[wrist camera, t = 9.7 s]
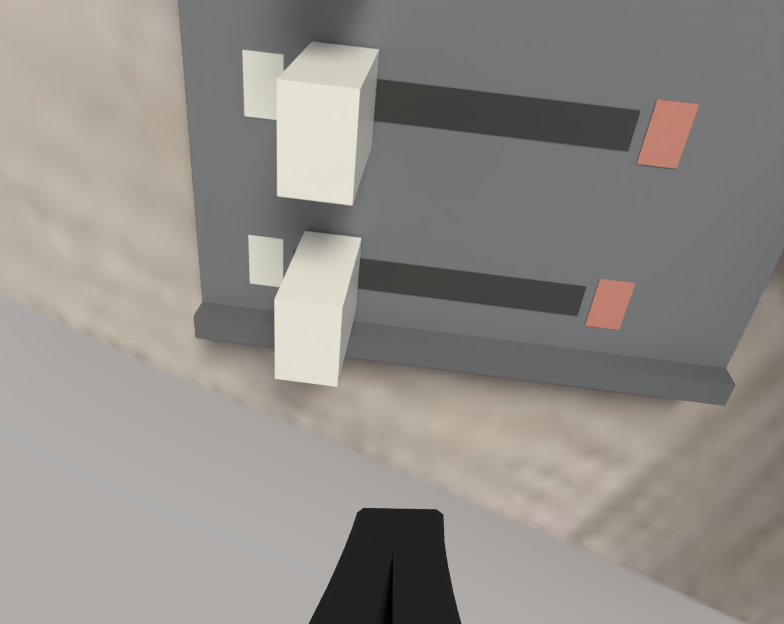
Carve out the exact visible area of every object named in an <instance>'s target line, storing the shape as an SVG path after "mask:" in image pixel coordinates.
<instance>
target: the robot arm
mask: <svg viewBox="0 0 784 624" xmlns="http://www.w3.org/2000/svg"><path fill="white" fill-rule="evenodd" d="M443 519H444V518H443V514H442V513H441V512H439V511H438V510H436V509H389V508H363V509H362V510H360V511H359V512H358V513H357V515H356V518H355V521H354V524H353V527H352V530H351V532H350V535H349V538H348V540H347V543H346V545H345V548H344V550H343V553H342V555H341V557H340V560H339V562H338V564H337V566H336V569H335V571H334V573H333V575H332V577H331V580H330V582H329V584H328V587H327V588H326V591H325V592H324V594H323V596H322V598H321V600H320V602H319V604H318V606H317V608H316V611H315V612H314V615H313V616H312V618H311V620H310V622H309V624H461V621H460V617H459V613H458V610H457V605H456V602H455V597H454V593H453V588H452V583H451V578H450V573H449V569H448V563H447V557H446V550H445V542H444V520H443Z"/></svg>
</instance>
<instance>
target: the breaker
mask: <svg viewBox="0 0 784 624" xmlns="http://www.w3.org/2000/svg"><path fill="white" fill-rule="evenodd" d="M378 60H379V49H372V48H364V47H356V46H347V45H339V44H330V43H322V42H314V41H312V42H311V43H310V44H309V45H308V46H307V47H306V48H305V49H304V50H303V52H302V53H301V54H300V55H299V56H298V57H297V58H296V59H295V60H294V61H293V62H292V63H291V64H290V65H289V66H288V67H287V69H286V70H285V71H284V72H283V73H282V74H281V75H280V76H279V77H278V78H277V196H279V197H287V198H295V199H303V200H311V201H319V202H328V203H336V204H344V205H353V202H354V199H355V196H356V193H357V190H358V187H359V184H360V181H361V178H362V175H363V172H364V169H365V166H366V163H367V160H368V157H369V154H370V151H371V148H372V135H373V122H374V110H375V97H376V85H377V72H378Z"/></svg>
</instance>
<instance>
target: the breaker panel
mask: <svg viewBox="0 0 784 624" xmlns="http://www.w3.org/2000/svg"><path fill="white" fill-rule="evenodd" d="M178 6H179V18H180V30H181V43H182V55H183V67H184V79H185V92H186V104H187V116H188V129H189V141H190V153H191V166H192V178H193V190H194V202H195V215H196V227H197V239H198V252H199V264H200V276H201V288H202V301H203V302H202V303H201V305H200V307H199V308H198V310H197V312H196V313H195V315H194V325H195V336H196V338H200V339H208V340H216V341H224V342H232V343H239V344H247V345H255V346H263V347H271V348H275V323H274V299H275V297H276V294H277V292H278V290H279V288H280V285H281V283H282V281H283V279H284V276H285V274H286V272H287V270H288V267H289V265H290V263H291V261H292V258H293V256H294V254H295V252H296V249H297V247H298V245H299V243H300V240H301V238H302V236H303V234H304V231H311V232H319V233H327V234H335V235H343V236H351V237H359V238H362V239H361V252H360V265H359V278H358V291H357V304H356V312H355V316H354V320H353V324H352V328H351V333H350V337H349V341H348V345H347V349H346V353H345V357H349V358H357V359H364V360H372V361H380V362H388V363H396V364H403V365H411V366H419V367H427V368H435V369H442V370H450V371H458V372H466V373H474V374H481V375H489V376H497V377H505V378H513V379H521V380H528V381H536V382H544V383H552V384H560V385H567V386H575V387H583V388H591V389H599V390H606V391H614V392H622V393H630V394H638V395H645V396H653V397H661V398H669V399H677V400H685V401H692V402H700V403H708V404H716V405H724V406H725V404H726V402H727V400H728V399H729V397H730V395H731V393H732V391H733V389H734V387H735V384H734V382H733V380H732V378H731V377H730V375H729V373H728V371H727V369H726V367H727V365H728V363H729V361H730V359H731V357H732V354H733V352H734V350H735V348H736V346H737V344H738V342H739V340H740V338H741V336H742V334H743V332H744V330H745V328H746V326H747V324H748V322H749V320H750V318H751V316H752V314H753V312H754V310H755V307H756V305H757V303H758V301H759V299H760V297H761V295H762V293H763V291H764V289H765V287H766V285H767V283H768V281H769V279H770V277H771V275H772V273H773V271H774V269H775V267H776V265H777V263H778V261H779V258H780V256H781V254H782V252H783V250H784V0H178ZM312 41H314V42H322V43H330V44H339V45H347V46H356V47H364V48H372V49H379V60H378V72H377V85H376V97H375V110H374V122H373V135H372V148H371V151H370V154H369V157H368V160H367V163H366V166H365V169H364V172H363V175H362V178H361V181H360V184H359V187H358V190H357V193H356V196H355V199H354V202H353V205H344V204H336V203H328V202H319V201H311V200H303V199H295V198H287V197H279V196H277V78H278V77H279V76H280V75H281V74H282V73H283V72H284V71H285V70H286V69H287V67H288V66H289V65H290V64H291V63H292V62H293V61H294V60H295V59H296V58H297V57H298V56H299V55H300V54H301V53H302V52H303V50H304V49H305V48H306V47H307V46H308V45H309V44H310V43H311V42H312Z"/></svg>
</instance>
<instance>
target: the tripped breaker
mask: <svg viewBox="0 0 784 624" xmlns="http://www.w3.org/2000/svg"><path fill="white" fill-rule="evenodd" d="M361 239H362V238H359V237H351V236H343V235H335V234H327V233H319V232H311V231H304V234H303V236H302V238H301V240H300V243H299V245H298V247H297V249H296V252H295V254H294V256H293V258H292V261H291V263H290V265H289V267H288V270H287V272H286V274H285V276H284V279H283V281H282V283H281V285H280V288H279V290H278V292H277V294H276V297H275V299H274V323H275V379H281V380H289V381H296V382H304V383H312V384H320V385H327V386H335V387H338V383H339V378H340V374H341V370H342V366H343V362H344V358H345V353H346V349H347V345H348V341H349V337H350V333H351V328H352V324H353V320H354V316H355V312H356V304H357V291H358V278H359V265H360V252H361Z"/></svg>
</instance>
